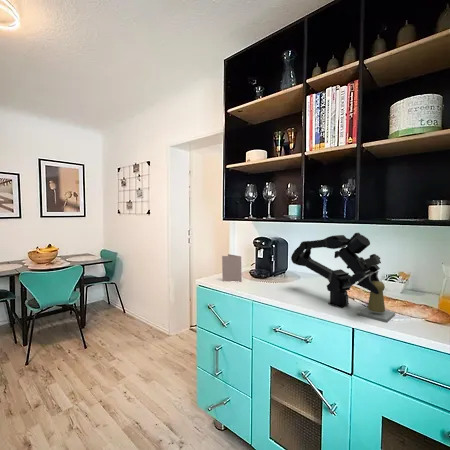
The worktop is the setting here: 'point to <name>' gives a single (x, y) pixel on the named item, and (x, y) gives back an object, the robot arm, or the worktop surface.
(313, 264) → the robot arm
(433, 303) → the worktop surface
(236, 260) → the greeting card
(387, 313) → the plate
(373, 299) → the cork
